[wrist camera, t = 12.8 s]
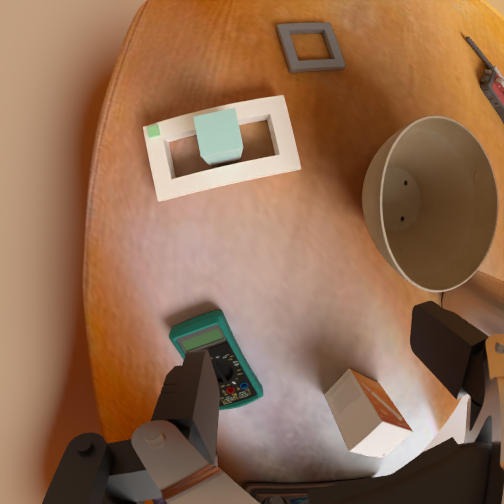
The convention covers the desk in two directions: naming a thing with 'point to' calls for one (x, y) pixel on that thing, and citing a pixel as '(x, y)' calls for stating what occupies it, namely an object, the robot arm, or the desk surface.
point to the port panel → (225, 175)
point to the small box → (366, 415)
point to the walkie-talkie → (491, 83)
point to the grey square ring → (310, 65)
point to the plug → (219, 136)
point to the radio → (282, 492)
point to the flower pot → (432, 203)
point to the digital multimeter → (219, 357)
